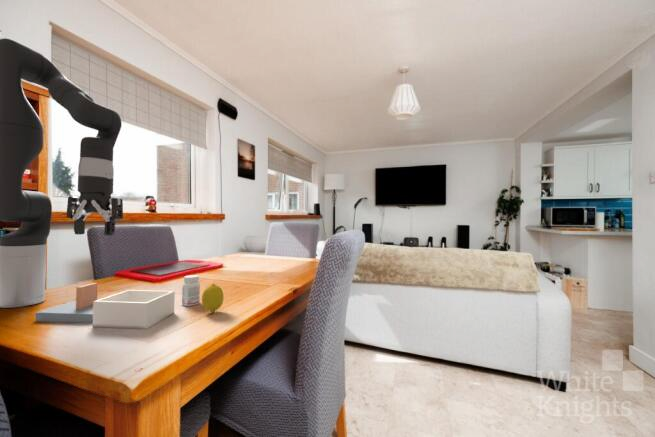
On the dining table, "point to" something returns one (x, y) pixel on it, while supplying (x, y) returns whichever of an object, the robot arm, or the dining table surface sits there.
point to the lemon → (212, 298)
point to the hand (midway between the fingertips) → (94, 234)
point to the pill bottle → (191, 290)
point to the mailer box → (133, 309)
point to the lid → (73, 307)
